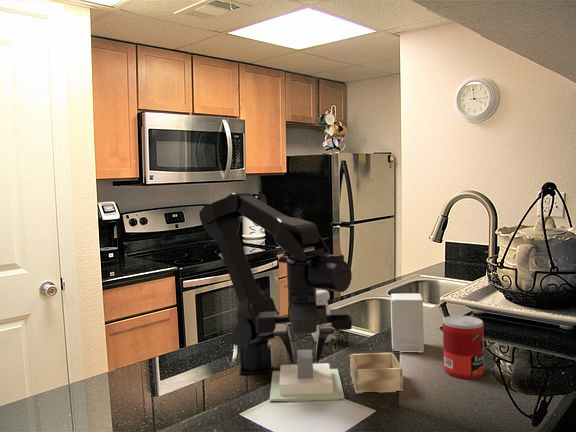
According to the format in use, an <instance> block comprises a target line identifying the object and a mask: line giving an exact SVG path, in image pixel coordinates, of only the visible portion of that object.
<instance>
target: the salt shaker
mask: <svg viewBox="0 0 576 432" xmlns="http://www.w3.org/2000/svg"><path fill="white" fill-rule="evenodd" d="M316 292H317V305H326V315H328V314H329V311H330V308H329V303H328V301H329V300H330V296H331V295H330V292H329V290H324V289H316ZM317 331H318V325H317ZM317 331H316V332H314V333H310V334H311V336H312V338H313V340H314V342H316V343H317ZM333 336H334V334H329V335H328V337H327V338H326V341H325V343H324V344H326V343H329V342H331V341H332V339H333Z"/></svg>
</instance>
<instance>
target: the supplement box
mask: <svg viewBox="0 0 576 432" xmlns="http://www.w3.org/2000/svg"><path fill="white" fill-rule="evenodd" d="M390 316H391V317H390V321H391V322H390V324H391V325H390V326H391V328H390V329H391V346H392V347H391V350H392V349H393V350H394V351H424V352H425V342H424V341H425V339H424V338H425V336H424V300H423V297H422V294H421V293H391V294H390ZM393 350H392V351H393Z"/></svg>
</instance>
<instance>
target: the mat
mask: <svg viewBox="0 0 576 432" xmlns="http://www.w3.org/2000/svg"><path fill="white" fill-rule="evenodd" d="M330 371H331V377H332V382H333V393H319V394H291V395H280V391H279V381H280V370H273V371H272V373H271V374H272V375H271V384H270V391H269V392H270V393H269V402H270V401H288V402H312V401H311V400H316V401H338V400H339V401H340V399H344V400H345V394H344V391H343V386H342V381H341V378H340V377H341V376H340V374H339V370H338V368H330Z"/></svg>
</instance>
